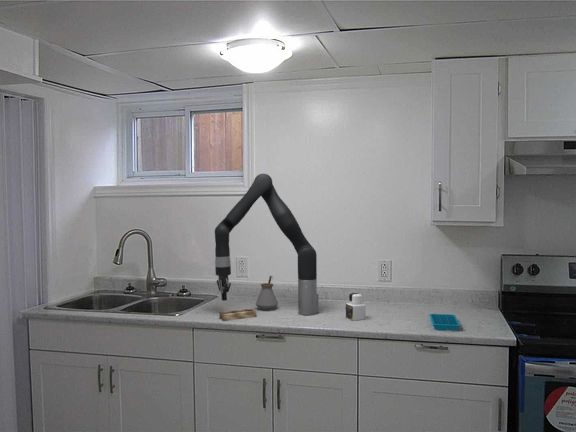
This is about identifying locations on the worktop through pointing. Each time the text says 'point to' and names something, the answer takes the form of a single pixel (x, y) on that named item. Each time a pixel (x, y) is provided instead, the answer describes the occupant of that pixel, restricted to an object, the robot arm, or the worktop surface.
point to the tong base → (239, 315)
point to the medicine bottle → (355, 307)
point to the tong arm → (232, 312)
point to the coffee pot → (267, 297)
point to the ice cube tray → (444, 322)
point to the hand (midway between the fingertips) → (224, 300)
